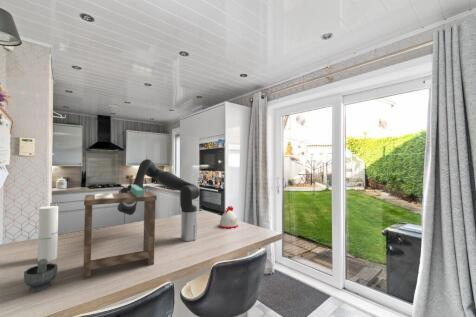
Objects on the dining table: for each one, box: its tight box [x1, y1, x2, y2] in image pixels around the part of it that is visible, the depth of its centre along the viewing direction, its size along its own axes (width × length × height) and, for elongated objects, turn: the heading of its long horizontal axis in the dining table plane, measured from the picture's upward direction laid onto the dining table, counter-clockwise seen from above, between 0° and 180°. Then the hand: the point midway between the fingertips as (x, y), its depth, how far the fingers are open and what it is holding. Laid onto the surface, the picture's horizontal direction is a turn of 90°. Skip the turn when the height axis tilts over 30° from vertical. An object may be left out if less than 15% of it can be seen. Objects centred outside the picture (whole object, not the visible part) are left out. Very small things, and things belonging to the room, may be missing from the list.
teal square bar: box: [130, 184, 145, 197], centre depth 113 cm, size 3×26×3 cm, turn 32°
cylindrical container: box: [37, 205, 59, 263], centre depth 110 cm, size 7×7×25 cm
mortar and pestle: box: [23, 259, 58, 293], centre depth 85 cm, size 11×9×12 cm
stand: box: [82, 191, 158, 281], centre depth 105 cm, size 28×16×32 cm, turn 122°
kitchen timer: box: [219, 205, 239, 230], centre depth 171 cm, size 14×14×15 cm
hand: (134, 185), depth 119 cm, fingers closed on teal square bar, 3 cm apart
